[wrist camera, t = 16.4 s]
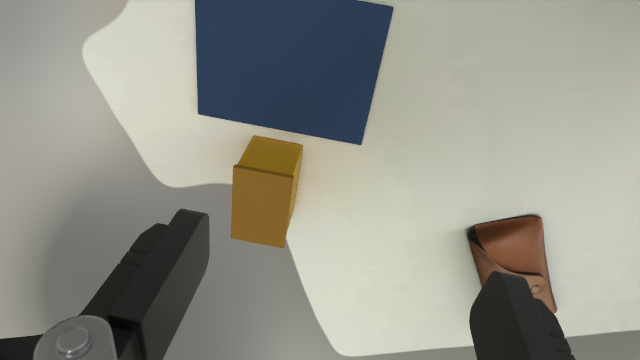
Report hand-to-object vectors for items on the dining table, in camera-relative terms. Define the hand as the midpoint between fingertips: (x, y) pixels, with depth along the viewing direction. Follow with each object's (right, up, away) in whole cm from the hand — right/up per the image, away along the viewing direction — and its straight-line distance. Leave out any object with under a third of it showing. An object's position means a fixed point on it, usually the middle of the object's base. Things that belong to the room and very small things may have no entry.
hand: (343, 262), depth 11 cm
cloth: (-4, +14, +28) cm, 31 cm away
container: (-6, +3, +35) cm, 36 cm away
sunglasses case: (+24, -9, +39) cm, 47 cm away
